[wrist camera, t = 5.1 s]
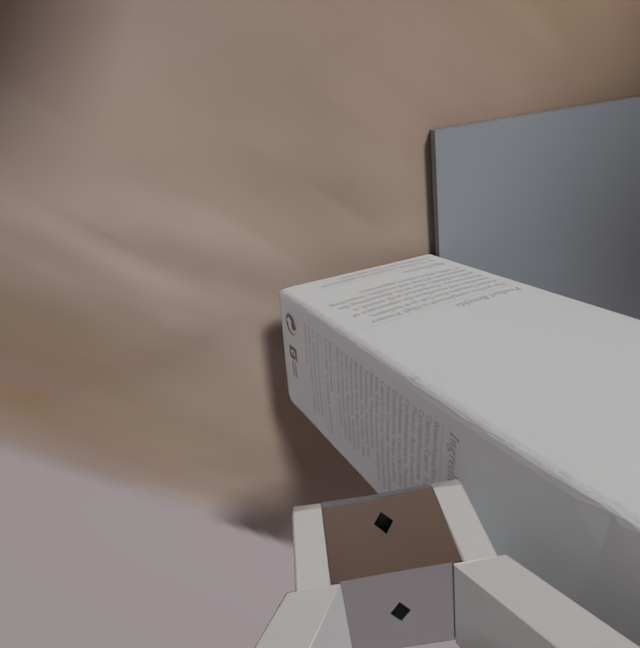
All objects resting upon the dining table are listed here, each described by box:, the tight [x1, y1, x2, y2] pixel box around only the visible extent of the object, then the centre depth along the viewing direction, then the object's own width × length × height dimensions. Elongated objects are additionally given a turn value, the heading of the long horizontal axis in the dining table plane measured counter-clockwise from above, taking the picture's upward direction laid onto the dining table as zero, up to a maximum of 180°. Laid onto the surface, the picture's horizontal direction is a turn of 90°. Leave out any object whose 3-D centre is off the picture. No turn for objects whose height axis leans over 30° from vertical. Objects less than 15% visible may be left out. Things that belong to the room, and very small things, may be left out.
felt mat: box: [430, 96, 640, 320], centre depth 17 cm, size 13×11×1 cm
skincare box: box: [279, 254, 640, 647], centre depth 12 cm, size 6×4×12 cm
